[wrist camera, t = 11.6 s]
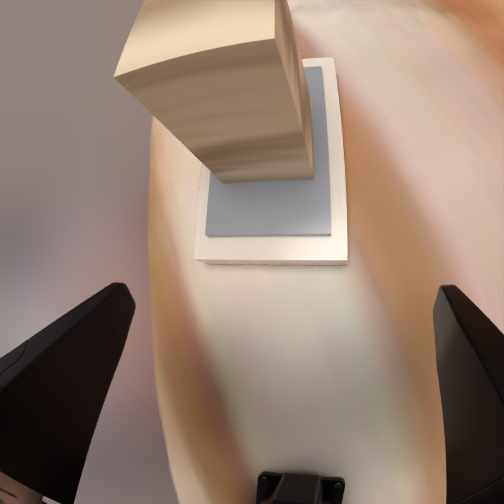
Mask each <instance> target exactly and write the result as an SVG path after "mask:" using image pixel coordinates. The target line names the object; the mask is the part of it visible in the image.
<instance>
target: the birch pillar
mask: <svg viewBox="0 0 504 504" xmlns="http://www.w3.org/2000/svg"><path fill="white" fill-rule="evenodd" d="M114 78H115V79H116V80H117V81H118V82H119V83H121V85H122V86H123V87H125V88H126V89H127V90H128V91H129V92H130V93H131V94H132V95H133V96H134V97H135V98H136V99H137V100H138V101H139V102H140V103H141V104H142V105H143V106H145V107H146V108H147V109H148V110H149V111H150V112H151V113H152V114H153V115H154V116H155V117H156V118H157V119H158V120H159V121H160V122H161V123H162V124H163V125H164V126H165V127H166V128H167V129H168V130H169V131H170V132H171V133H172V134H173V135H174V136H175V137H176V138H177V139H179V140H180V141H181V142H182V143H183V144H184V145H185V146H186V147H187V148H188V149H189V150H190V151H191V152H192V153H193V154H194V155H195V156H196V157H197V158H198V159H199V160H200V161H201V162H202V163H203V164H204V165H205V166H206V167H207V168H208V169H209V170H210V171H211V172H212V173H213V174H214V175H215V176H216V177H217V178H218V179H219V180H220V181H221V182H222V183H223V184H230V183H244V182H261V181H281V180H307V179H314V153H313V127H312V107H311V99H310V94H309V89H308V84H307V80H306V75H305V71H304V66H303V62H302V58H301V53H300V49H299V45H298V41H297V37H296V33H295V29H294V25H293V21H292V18H291V14H290V10H289V6H288V3H287V0H145V1H144V3H143V6H142V8H141V10H140V12H139V14H138V16H137V19H136V21H135V23H134V26H133V28H132V30H131V33H130V35H129V37H128V40H127V42H126V45H125V47H124V50H123V53H122V55H121V58H120V61H119V63H118V66H117V69H116V72H115V75H114Z"/></svg>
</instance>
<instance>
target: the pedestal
mask: <svg viewBox="0 0 504 504" xmlns="http://www.w3.org/2000/svg"><path fill="white" fill-rule="evenodd" d="M302 62H303V66H304V71H305V75H306V80H307V84H308V89H309V94H310V99H311V107H312V127H313V153H314V179H307V180H281V181H261V182H244V183H230V184H223V183H222V182H221V181H220V180H219V179H218V178H217V177H216V176H215V175H214V174H213V173H212V172H211V171H210V170H209V169H208V168H207V167H206V166H205V165H204V164H203V163H202V167H201V177H200V187H199V198H198V209H197V220H196V233H195V246H194V260H197V261H200V262H203V263H206V264H260V265H347V207H346V184H345V166H344V151H343V138H342V127H341V116H340V106H339V97H338V89H337V81H336V73H335V65H334V58H333V57H331V58H312V59H302Z"/></svg>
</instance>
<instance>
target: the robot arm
mask: <svg viewBox="0 0 504 504" xmlns="http://www.w3.org/2000/svg"><path fill="white" fill-rule="evenodd" d="M134 312H135V301H134V299H133V297H132V295H131V293H130V291H129V289H128V287H127V286H126V284H124V283H112V284H110V285H108V286H107V287H105V288H104V289H102V290H101V291H99V292H98V293H96V294H94V295H93V296H92V297H90V298H88V299H87V300H85V301H84V302H82V303H81V304H79V305H78V306H76V307H75V308H74V309H72V310H70V311H69V312H67V313H66V314H64V315H63V316H62V317H60V318H58V319H57V320H56V321H54V322H52V323H51V324H50V325H48V326H47V327H45V328H44V329H42V330H41V331H39V332H38V333H37V334H35V335H34V336H32V337H31V338H30V339H29V340H26V341H25V342H24V343H22V344H21V345H19V346H18V347H16V348H15V349H13V350H12V351H11V352H9V353H8V354H6V355H4V356H3V357H1V358H0V504H47V503H46V502H44V501H43V500H42V499H43V497H44V496H45V497H48V498H50V499H52V500H54V501H56V502H58V503H60V504H74V501H75V497H76V493H77V489H78V485H79V481H80V478H81V475H82V471H83V467H84V464H85V460H86V456H87V453H88V450H89V447H90V444H91V440H92V437H93V434H94V431H95V428H96V425H97V422H98V419H99V416H100V413H101V410H102V407H103V404H104V401H105V398H106V396H107V393H108V390H109V387H110V384H111V381H112V379H113V376H114V373H115V371H116V368H117V365H118V363H119V360H120V358H121V355H122V352H123V349H124V346H125V343H126V339H127V335H128V332H129V328H130V325H131V322H132V319H133V315H134ZM433 322H434V333H435V346H436V362H437V372H438V380H439V387H440V394H441V402H442V411H443V422H444V433H445V449H446V479H447V493H446V504H504V334H503V333H502V332H501V331H500V330H499V329H498V328H497V327H496V326H495V325H494V323H493V322H492V321H491V320H490V319H489V318H488V317H487V316H486V315H485V314H484V313H483V312H482V311H481V310H480V309H479V308H478V307H477V306H476V305H475V304H474V303H473V302H472V301H471V300H470V299H469V298H468V297H467V296H466V295H465V294H464V293H463V292H462V291H461V290H460V289H459V288H458V287H457V286H455V285H441V286H440V287H439V290H438V293H437V297H436V301H435V304H434V308H433ZM263 477H266V478H267V480H265V479H263ZM337 483H341V485H340V486H337V485H335V484H337ZM344 489H345V481H344V479H342V478H325V477H319V476H311V475H298V474H288V473H286V474H277V473H269V472H262V473H261V474H260V475H259V477H258V484H257V499H256V504H341V503H342V499H343V494H344Z"/></svg>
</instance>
